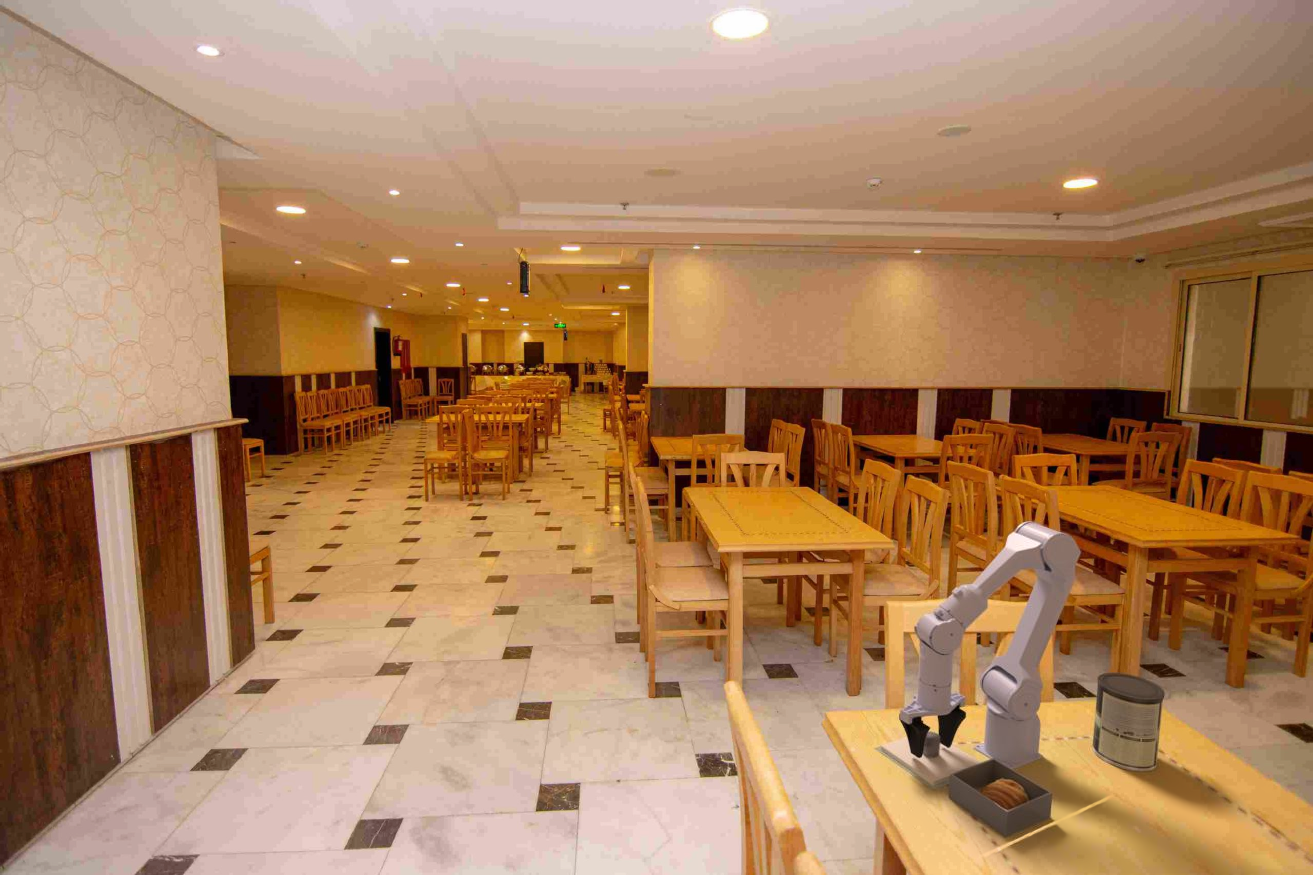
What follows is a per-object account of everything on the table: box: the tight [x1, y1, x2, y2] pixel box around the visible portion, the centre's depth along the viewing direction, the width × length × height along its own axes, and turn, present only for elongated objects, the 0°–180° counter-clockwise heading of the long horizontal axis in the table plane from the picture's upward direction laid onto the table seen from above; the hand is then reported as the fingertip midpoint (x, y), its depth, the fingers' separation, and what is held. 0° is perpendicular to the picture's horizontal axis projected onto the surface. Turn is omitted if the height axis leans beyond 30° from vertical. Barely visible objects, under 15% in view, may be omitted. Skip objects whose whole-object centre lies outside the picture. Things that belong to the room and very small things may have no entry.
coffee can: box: [1091, 672, 1166, 773], centre depth 129 cm, size 10×10×14 cm
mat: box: [874, 745, 950, 791], centre depth 128 cm, size 14×14×1 cm
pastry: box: [980, 778, 1030, 810], centre depth 114 cm, size 9×7×4 cm
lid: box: [880, 730, 982, 786], centre depth 128 cm, size 12×12×4 cm
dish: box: [948, 758, 1053, 838], centre depth 114 cm, size 11×11×5 cm
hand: (930, 749), depth 128 cm, fingers open, 7 cm apart
